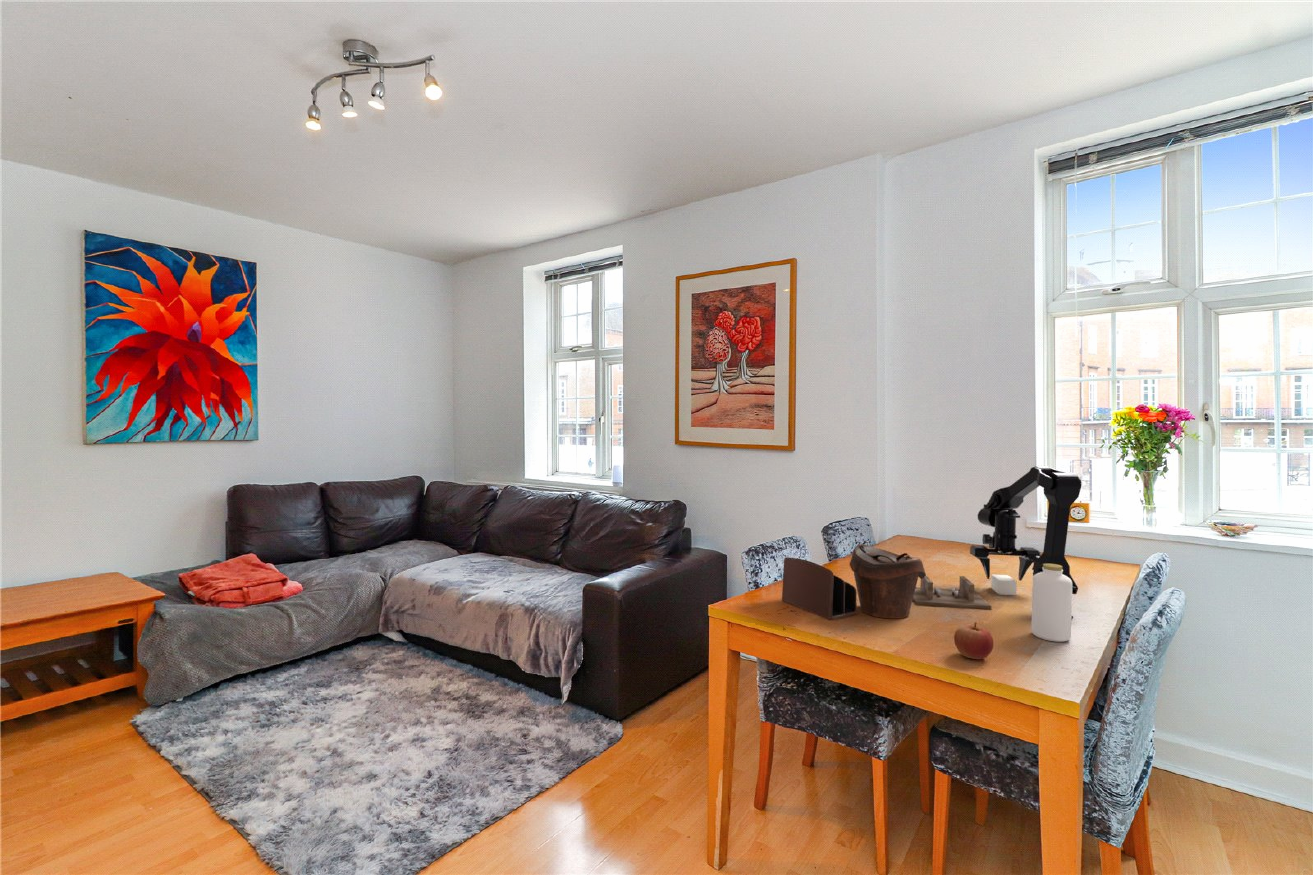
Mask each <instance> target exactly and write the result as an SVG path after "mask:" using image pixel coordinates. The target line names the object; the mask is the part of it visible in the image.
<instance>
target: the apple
mask: <svg viewBox="0 0 1313 875" xmlns="http://www.w3.org/2000/svg"><path fill="white" fill-rule="evenodd" d="M977 624H978V623H977V622H974V624H970V623H969V624H968V623H967V624H963V625H961V626H959V627H958V628H957V629H956V630H955V633H954V636H953V639H954V640H953V642H954V646H955V648H956V649H957V650H958V652H959V653H960V655H962V656H964V657H965V658H968V659H973V660H983V659H986V658H987V657H988V656H989V655H991V653H992V651H993V649H994V638H993V635H992V634H991V633H990V631H989V630H988V629H987V628H984V627H981V626H979V625H977Z"/></svg>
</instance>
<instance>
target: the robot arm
mask: <svg viewBox="0 0 1313 875" xmlns="http://www.w3.org/2000/svg"><path fill="white" fill-rule="evenodd" d="M1039 487H1041V488H1043V495H1044V496H1045V499H1046V500H1047V502H1048V509H1047V510H1048V512H1047V518H1046V525H1045V526H1046V527H1045V533H1044V534H1045V535H1044V543H1043V544H1044V545H1043V552H1042V553H1041V552H1040V550H1038V549H1036V548H1035V547H1026V546H1024V547H1023V546H1021V547H1020V548H1019V549H1017V547H1016V539H1018V535H1017V534H1016V532H1017V528H1016V527H1017V526H1016V525H1017V519H1021V515H1020V514H1019V513H1018V511H1016V509H1018V508H1020V507H1021V505H1022V504H1023V503H1024V501H1025V500H1024V498H1025V497H1026V496H1028V495H1029V494H1030V493H1031V492H1033V491H1034V490H1036V489H1037V488H1039ZM1081 489H1082V479H1081V478H1080V477H1079V476H1078V474H1076V473H1075V472H1068V471H1063V470H1059V469H1056V468H1054V467H1050V466H1045V465H1044V466H1041V465H1039V466H1038V465H1037V466H1033V467H1031V468H1030V469H1029V471H1027V473H1025V474H1024V475H1023V476H1021V477H1020V478H1019V479H1017V480H1015V482H1014V483H1012V484H1010V485H1009V486H1006V487H1005V486H1004V487H1000V488H997V489H996V490H994V491H993V492H992V494H991V496H990V498H989V500H988V501H987V503H986V504H983V508H980V510H979V511H978V512H977V513H978V514H977V520H978V522H979V523H980V524H982V525H985V526H988V527H992V528H994V531H993V532H992V536H991V534H989V533H988V534H986V533H984V534H982V544H983V545H981V544H972V545H971V546H970V547H969V554H971V556H973V557H974V558H976V559H978V560H979V561H980V564H981V566H982V568H983V570H984V574H985V576H986V579H988V580H990V578H991V576H990V575H991V559H990V558H989V556H991V555H994V556H1012V557H1013V556H1015V557H1018V560H1019V566H1018V575H1017V576H1018V581H1020V582H1021V581H1022V580H1023V578H1024V577H1025V575H1026V573H1027V572H1028V569H1030V567H1031V566H1032V568H1031V569H1032V571H1033V572H1032V577H1033V576H1034V575H1035V574H1037V573H1040V572H1043V569H1042V567H1043V564H1057V565H1061V566H1062V569H1063V572H1062V574H1063V575H1065V576H1067V577H1068V578H1070V579H1071V580H1072V595H1077V594H1078V591H1079V587H1078V585H1077V584H1076V582H1075V580H1074V578H1073V577H1072V575H1071V572H1070V571H1071V568H1070V564H1069V563H1068V562H1069V561H1067V558H1066V554H1065V553H1066V545H1067V537H1068V529H1069V523H1070V513H1071V507H1072V505H1073V504H1074V503H1075V502H1076V501H1077V499H1079V497H1080V492H1081ZM985 545H988V547H987V546H985ZM1032 564H1033V565H1032ZM1071 619H1074V616H1073V615H1072V617H1071Z"/></svg>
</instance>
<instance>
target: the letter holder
mask: <svg viewBox="0 0 1313 875" xmlns="http://www.w3.org/2000/svg"><path fill="white" fill-rule="evenodd" d="M781 593H782V595H781V601H782V602H784V603H786V604H789V605H792V606H795V607H796V608H799V609H801V610H804V611H807V612H809V613H811V614H814V615H817V616H819V617H821V618H824V619H826V620H829V621H834V620H837V619H844V618H847V617H852V616H857V610H858V609H857V601H858V600H857V597H858V592H857V587H855V586H854V585H852V584H851V583H849V582H847V581H845V580H843V578H841V577H839V576H837V575H835V574H834V572H833V570H830V569H829V568H827V567H825V566H822V565H820V564H817V563H815V562H812V561H809V560H806V559H802V558H797V557H784V559H783V572H782V590H781Z"/></svg>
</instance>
